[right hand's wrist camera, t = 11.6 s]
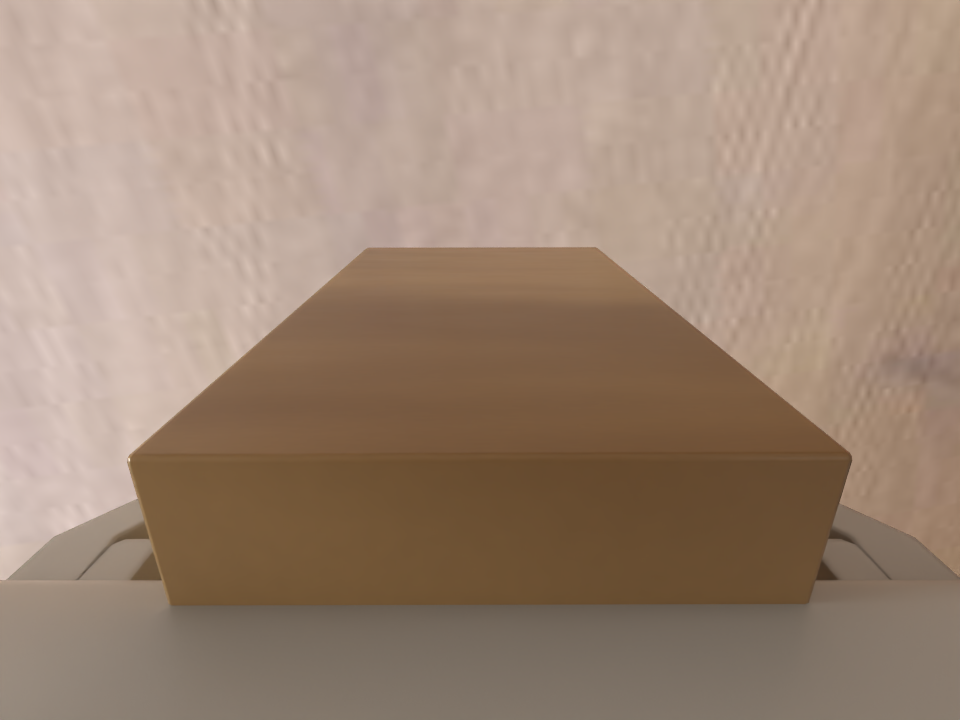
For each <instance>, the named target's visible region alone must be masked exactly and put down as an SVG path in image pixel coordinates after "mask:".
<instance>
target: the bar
mask: <svg viewBox="0 0 960 720" xmlns="http://www.w3.org/2000/svg"><path fill="white" fill-rule="evenodd" d="M851 462H852V456H851V454H850V453H849V452H848V451H847V450H846V449H844V448H843V447H842V446H841V445H839V444H838V443H837V442H836V441H834V440H833V439H832V438H831V437H830V436H828V435H827V434H826V433H825V432H823V431H822V430H821V429H820V428H818V427H817V426H816V425H815V424H814V423H812V422H811V421H810V420H809V419H807V418H806V417H805V416H804V415H802V414H801V413H800V412H799V411H797V410H796V409H795V408H794V407H793V406H791V405H790V404H789V403H788V402H786V401H785V400H784V399H783V398H781V397H780V396H779V395H778V394H777V393H775V392H774V391H773V390H772V389H770V388H769V387H768V386H767V385H765V384H764V383H763V382H762V381H760V380H759V379H758V378H757V377H756V376H754V375H753V374H752V373H751V372H749V371H748V370H747V369H746V368H744V367H743V366H742V365H741V364H739V363H738V362H737V361H736V360H735V359H733V358H732V357H731V356H730V355H728V354H727V353H726V352H725V351H723V350H722V349H721V348H720V347H719V346H717V345H716V344H715V343H714V342H712V341H711V340H710V339H709V338H707V337H706V336H705V335H704V334H702V333H701V332H700V331H699V330H698V329H696V328H695V327H694V326H693V325H691V324H690V323H689V322H688V321H686V320H685V319H684V318H683V317H682V316H680V315H679V314H678V313H677V312H675V311H674V310H673V309H672V308H670V307H669V306H668V305H667V304H665V303H664V302H663V301H662V300H661V299H659V298H658V297H657V296H656V295H654V294H653V293H652V292H651V291H649V290H648V289H647V288H646V287H644V286H643V285H642V284H641V283H640V282H638V281H637V280H636V279H635V278H633V277H632V276H631V275H630V274H628V273H627V272H626V271H625V270H624V269H622V268H621V267H620V266H619V265H617V264H616V263H615V262H614V261H612V260H611V259H610V258H609V257H607V256H606V255H605V254H604V253H603V252H601V251H600V250H599V249H598V248H596V247H554V248H367V249H365V250H364V251H363V252H362V253H361V254H360V255H359V256H357V257H356V258H355V259H354V260H353V261H352V262H351V263H349V264H348V265H347V266H346V267H345V268H344V269H342V270H341V271H340V272H339V273H338V274H337V275H336V276H334V277H333V278H332V279H331V280H330V281H329V282H328V283H326V284H325V285H324V286H323V287H322V288H321V289H320V290H318V291H317V292H316V293H315V294H314V295H313V296H311V297H310V298H309V299H308V300H307V301H306V302H305V303H303V304H302V305H301V306H300V307H299V308H298V309H297V310H295V311H294V312H293V313H292V314H291V315H290V316H289V317H287V318H286V319H285V320H284V321H283V322H282V323H280V324H279V325H278V326H277V327H276V328H275V329H274V330H272V331H271V332H270V333H269V334H268V335H267V336H266V337H264V338H263V339H262V340H261V341H260V342H259V343H258V344H256V345H255V346H254V347H253V348H252V349H251V350H249V351H248V352H247V353H246V354H245V355H244V356H243V357H241V358H240V359H239V360H238V361H237V362H236V363H235V364H233V365H232V366H231V367H230V368H229V369H228V370H227V371H225V372H224V373H223V374H222V375H221V376H220V377H218V378H217V379H216V380H215V381H214V382H213V383H212V384H210V385H209V386H208V387H207V388H206V389H205V390H204V391H202V392H201V393H200V394H199V395H198V396H197V397H196V398H194V399H193V400H192V401H191V402H190V403H189V404H188V405H186V406H185V407H184V408H183V409H182V410H181V411H179V412H178V413H177V414H176V415H175V416H174V417H173V418H171V419H170V420H169V421H168V422H167V423H166V424H165V425H163V426H162V427H161V428H160V429H159V430H158V431H157V432H155V433H154V434H153V435H152V436H151V437H150V438H148V439H147V440H146V441H145V442H144V443H143V444H142V445H140V446H139V447H138V448H137V449H136V450H135V451H134V452H132V453H131V454H130V455H129V457H128V461H127V463H128V467H129V470H130V473H131V477H132V480H133V484H134V487H135V491H136V494H137V497H138V501H139V504H140V508H141V511H142V515H143V518H144V521H145V525H146V528H147V532H148V535H149V539H150V542H151V545H152V549H153V552H154V556H155V559H156V563H157V566H158V569H159V573H160V576H161V580H162V583H163V587H164V590H165V593H166V597H167V600H168V604H169V605H172V606H190V605H612V604H807V603H809V600H810V597H811V594H812V590H813V587H814V584H815V581H816V577H817V574H818V571H819V567H820V564H821V561H822V558H823V554H824V551H825V548H826V544H827V541H828V538H829V535H830V531H831V528H832V525H833V521H834V518H835V515H836V512H837V508H838V505H839V502H840V498H841V495H842V492H843V489H844V485H845V482H846V479H847V475H848V472H849V469H850V466H851Z"/></svg>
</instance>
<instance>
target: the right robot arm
mask: <svg viewBox="0 0 960 720" xmlns="http://www.w3.org/2000/svg"><path fill="white" fill-rule="evenodd" d="M0 720H960V578H959V577H958V576H957V575H956V574H955V573H954V572H953V571H952V570H950V569H949V568H948V567H947V566H946V565H945V564H944V563H943V562H941V561H940V560H939V559H938V558H937V557H936V556H935V555H934V554H933V553H931V552H930V551H929V550H928V549H927V548H926V547H925V546H924V545H922V544H921V543H920V542H919V541H918V540H917V539H916V538H915V537H912V536H910V535H908V534H906V533H903V532H901V531H899V530H897V529H895V528H892V527H890V526H888V525H886V524H884V523H881V522H879V521H877V520H875V519H872V518H870V517H868V516H866V515H864V514H861V513H859V512H857V511H855V510H852V509H850V508H848V507H846V506H844V505H841V504H839V505H838V508H837V512H836V515H835V518H834V521H833V525H832V528H831V531H830V535H829V538H828V541H827V544H826V548H825V551H824V554H823V558H822V561H821V564H820V567H819V571H818V574H817V577H816V581H815V584H814V587H813V590H812V594H811V597H810V600H809V603H807V604H612V605H190V606H172V605H169V604H168V600H167V597H166V593H165V590H164V587H163V583H162V580H161V576H160V573H159V569H158V566H157V563H156V559H155V556H154V552H153V549H152V545H151V542H150V539H149V535H148V532H147V528H146V525H145V521H144V518H143V515H142V511H141V508H140V504H139V501H138V499H136V500H134V501H132V502H130V503H127V504H125V505H123V506H121V507H119V508H116V509H114V510H112V511H110V512H108V513H105V514H103V515H101V516H99V517H97V518H94V519H92V520H90V521H88V522H86V523H83V524H81V525H79V526H77V527H74V528H72V529H70V530H68V531H66V532H63V533H61V534H59V535H57V536H55V537H53V538H52V539H51V540H50V541H49V542H48V543H47V544H45V545H44V546H43V547H42V548H41V549H40V550H39V551H38V552H37V553H36V554H34V555H33V556H32V557H31V558H30V559H29V560H28V561H27V562H26V563H24V564H23V565H22V566H21V567H20V568H19V569H18V570H17V571H16V572H15V573H13V574H12V575H11V576H10V577H9V578H8V579H7V580H0Z"/></svg>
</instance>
